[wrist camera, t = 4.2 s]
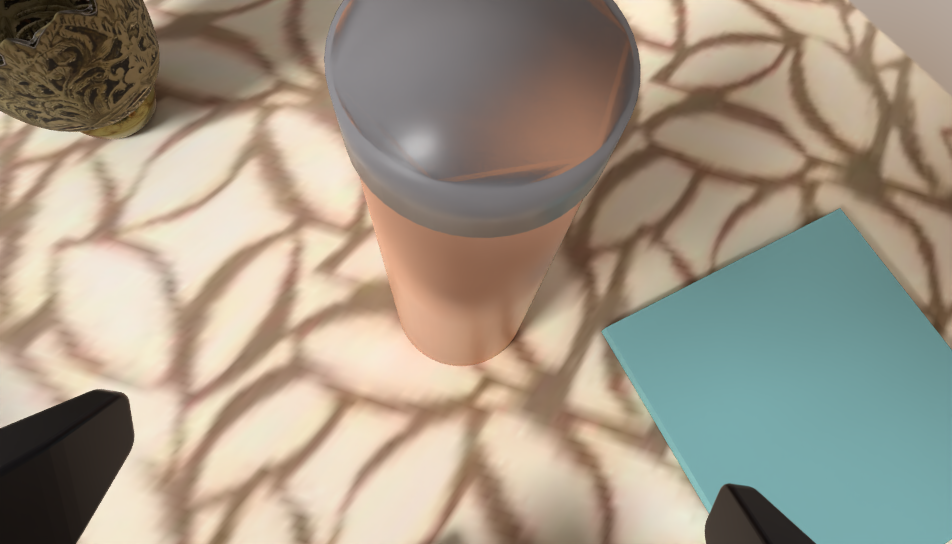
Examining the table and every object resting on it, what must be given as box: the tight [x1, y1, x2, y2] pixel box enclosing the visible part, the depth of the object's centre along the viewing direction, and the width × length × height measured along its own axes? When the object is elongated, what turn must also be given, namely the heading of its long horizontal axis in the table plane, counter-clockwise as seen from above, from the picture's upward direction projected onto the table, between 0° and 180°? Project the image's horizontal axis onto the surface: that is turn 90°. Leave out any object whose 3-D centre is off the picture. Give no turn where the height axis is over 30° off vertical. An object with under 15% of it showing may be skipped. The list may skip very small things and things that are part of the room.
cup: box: [0, 0, 159, 139], centre depth 21 cm, size 8×7×8 cm
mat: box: [602, 208, 952, 544], centre depth 21 cm, size 12×12×1 cm
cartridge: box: [324, 0, 640, 366], centre depth 16 cm, size 5×5×14 cm
